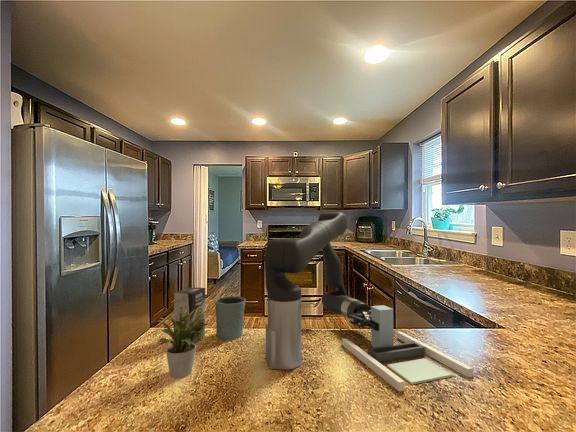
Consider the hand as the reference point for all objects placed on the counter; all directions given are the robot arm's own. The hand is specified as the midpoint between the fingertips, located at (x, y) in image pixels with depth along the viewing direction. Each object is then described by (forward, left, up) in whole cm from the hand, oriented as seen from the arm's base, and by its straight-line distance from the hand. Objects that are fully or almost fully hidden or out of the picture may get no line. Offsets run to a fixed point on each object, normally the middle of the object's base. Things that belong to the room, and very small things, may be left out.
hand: (385, 326), depth 85 cm
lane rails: (0, -6, -7) cm, 9 cm away
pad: (0, -13, -7) cm, 15 cm away
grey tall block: (0, +2, -7) cm, 7 cm away
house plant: (-58, +3, -7) cm, 59 cm away
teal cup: (-43, +26, -7) cm, 51 cm away
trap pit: (0, -5, -7) cm, 8 cm away
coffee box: (-56, +26, -7) cm, 62 cm away
